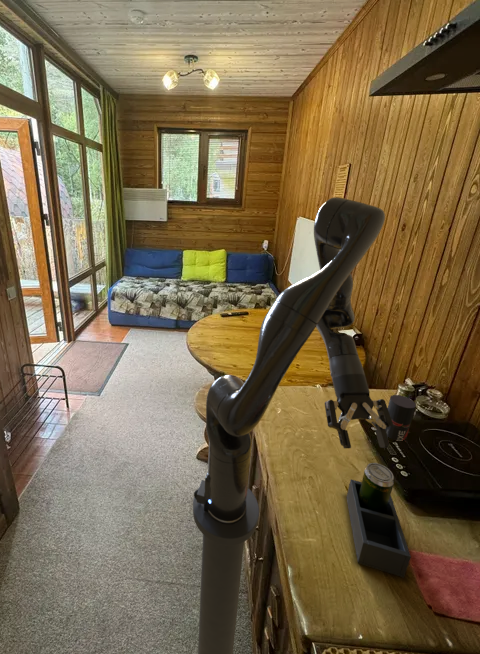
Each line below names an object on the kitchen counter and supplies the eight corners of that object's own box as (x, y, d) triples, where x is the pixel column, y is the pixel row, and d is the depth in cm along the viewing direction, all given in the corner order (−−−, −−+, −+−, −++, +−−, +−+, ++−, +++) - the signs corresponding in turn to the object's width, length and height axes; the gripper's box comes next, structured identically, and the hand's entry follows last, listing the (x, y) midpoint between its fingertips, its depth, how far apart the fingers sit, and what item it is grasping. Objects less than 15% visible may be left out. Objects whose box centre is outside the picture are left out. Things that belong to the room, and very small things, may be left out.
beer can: (388, 519, 67) (400, 477, 63) (372, 530, 65) (384, 487, 61) (365, 499, 72) (375, 458, 68) (349, 509, 69) (359, 467, 65)
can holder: (357, 563, 59) (363, 542, 58) (346, 497, 73) (350, 479, 71) (403, 577, 57) (411, 557, 55) (383, 507, 71) (388, 488, 69)
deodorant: (391, 454, 86) (403, 409, 81) (374, 439, 91) (385, 396, 86) (408, 451, 87) (421, 406, 82) (390, 436, 93) (402, 393, 88)
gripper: (326, 372, 73) (343, 448, 65) (384, 372, 73) (407, 446, 66) (313, 379, 79) (327, 449, 72) (367, 379, 80) (386, 447, 73)
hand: (365, 448), depth 69 cm, fingers open, 8 cm apart
